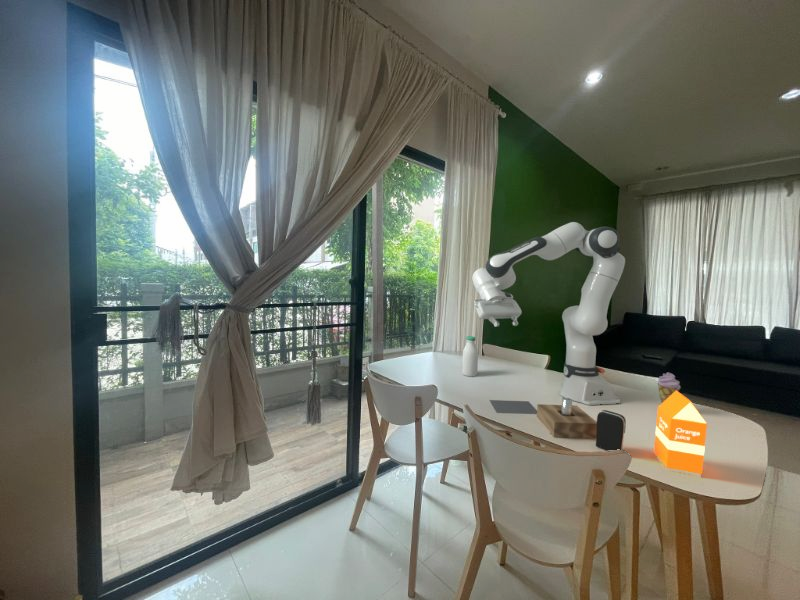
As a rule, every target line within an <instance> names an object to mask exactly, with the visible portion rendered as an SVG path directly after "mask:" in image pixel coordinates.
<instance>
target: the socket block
mask: <svg viewBox="0 0 800 600" xmlns="http://www.w3.org/2000/svg"><path fill="white" fill-rule="evenodd" d="M536 407H537V408H536V410H537V414H536V417H537V419H538V420H539V421H540V422H541V423H542V425H543V426H544V427H545V428H546V429H547V430H548V431H549V434H550V435H551V436H552V438H567V439H568V438H569V439H592V438H596V428H597V420H595V419H594V418H593V417H591V416H590V415H589V414H588V413H586V411H584V410H583V409H582V408H580V407H579V406H578V405H573V404H572V411H571V416H562V415H561V411H562V404H540V403H539V404H537V406H536Z"/></svg>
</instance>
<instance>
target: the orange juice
mask: <svg viewBox="0 0 800 600" xmlns="http://www.w3.org/2000/svg"><path fill="white" fill-rule="evenodd" d="M656 412H657V416H656V425H655V437H654V449H653V453H654V452H655V454H656V455H657V456H658V457H659V459H660V460H661V461H662V463H663V464H664V465H665V467H666V468H670V469H677V470H683V471H688V472H693V473H698V474H702V475H703V468H704V456H705V451H706V449H705V448H706V446H705V445H706V438H707V427H708V423H707V422H706V420H705V419H704V418H703V415H701V414H700V412H699V411H698V410H697V408H696V407H695V406H694V404H693V402H692V401H691V400H690V399H689V398H688V397H686V396H685V395H683V394H682V393H680V392H679V390H678V391H675V392H674V393H673V394H672V395H671V396H669V397H668V398H667V399H666V400H665V401H664V402H663V403H661V404H659V405H658V406H657V411H656Z"/></svg>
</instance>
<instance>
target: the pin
mask: <svg viewBox="0 0 800 600" xmlns="http://www.w3.org/2000/svg"><path fill="white" fill-rule="evenodd" d="M561 405H562V411H561V415H562V416H571V411H572V405H573V400H572V399H570V398H565V397H562V398H561Z"/></svg>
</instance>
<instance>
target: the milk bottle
mask: <svg viewBox="0 0 800 600" xmlns="http://www.w3.org/2000/svg"><path fill="white" fill-rule="evenodd" d="M465 339H466V343H465V346H464V348H463V350H462V362H461V364H462V365H461V366H462V367H461V373H462V376H464V377H471V378H473V376H474V377H476V376H478V370H479V369H478V368H479V367H478V364H479V352H478V348H477V345H476V336H473V335H469V336H466V337H465Z"/></svg>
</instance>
